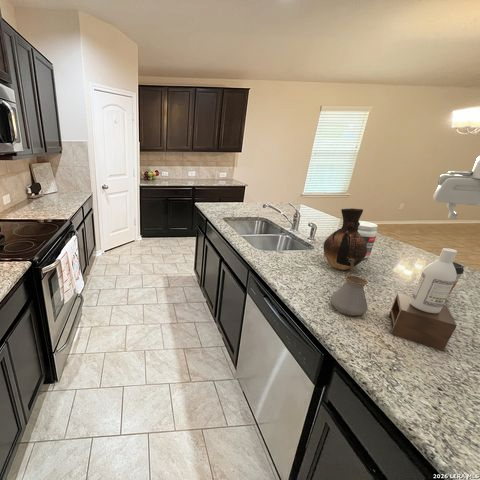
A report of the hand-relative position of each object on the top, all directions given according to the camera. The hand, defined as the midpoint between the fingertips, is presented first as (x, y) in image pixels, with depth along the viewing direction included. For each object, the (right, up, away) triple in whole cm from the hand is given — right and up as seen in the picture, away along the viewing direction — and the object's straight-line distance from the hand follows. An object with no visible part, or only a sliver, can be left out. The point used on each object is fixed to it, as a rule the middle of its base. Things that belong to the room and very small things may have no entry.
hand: (474, 220), depth 74 cm
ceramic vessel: (-2, -19, +54) cm, 57 cm away
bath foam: (-8, -27, +6) cm, 29 cm away
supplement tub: (+16, -14, +67) cm, 70 cm away
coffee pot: (-20, -30, +25) cm, 44 cm away
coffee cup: (+19, -29, +29) cm, 45 cm away
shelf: (-8, -36, +10) cm, 38 cm away
